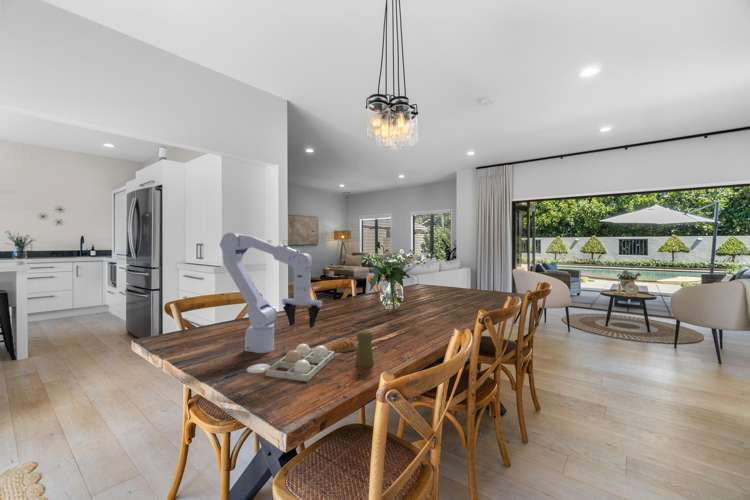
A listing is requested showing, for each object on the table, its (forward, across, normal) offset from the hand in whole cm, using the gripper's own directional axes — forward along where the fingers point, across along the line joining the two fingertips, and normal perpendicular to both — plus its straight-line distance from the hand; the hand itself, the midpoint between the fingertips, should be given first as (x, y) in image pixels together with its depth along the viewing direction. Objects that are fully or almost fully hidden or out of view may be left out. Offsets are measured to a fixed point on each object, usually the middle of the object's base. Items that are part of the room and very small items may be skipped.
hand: (301, 326), depth 113 cm
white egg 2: (+10, +9, -18) cm, 22 cm away
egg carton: (+10, +6, -11) cm, 16 cm away
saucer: (+10, -6, -17) cm, 20 cm away
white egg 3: (+10, +9, -4) cm, 14 cm away
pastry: (+10, +13, +8) cm, 19 cm away
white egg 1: (+10, +3, -4) cm, 11 cm away
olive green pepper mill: (+10, +24, -3) cm, 26 cm away
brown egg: (+10, +3, -11) cm, 15 cm away
